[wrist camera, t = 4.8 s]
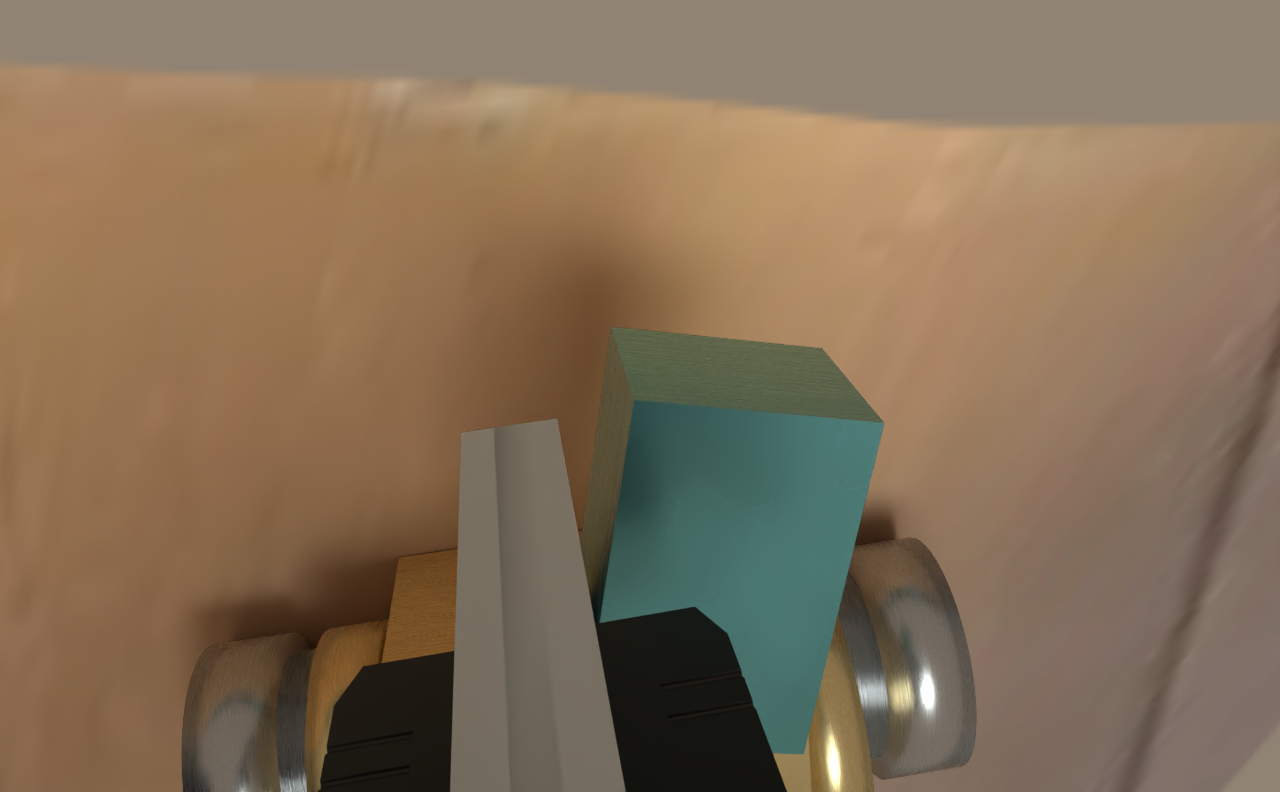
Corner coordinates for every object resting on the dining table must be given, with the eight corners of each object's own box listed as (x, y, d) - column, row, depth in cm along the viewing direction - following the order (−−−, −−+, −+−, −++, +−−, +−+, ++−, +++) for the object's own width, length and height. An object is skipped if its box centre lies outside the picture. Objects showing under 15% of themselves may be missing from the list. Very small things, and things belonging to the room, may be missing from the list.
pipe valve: (280, 795, 26) (196, 1122, 18) (216, 575, 23) (91, 851, 16) (894, 694, 27) (1042, 966, 20) (891, 475, 24) (1056, 690, 17)
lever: (703, 1004, 19) (732, 1154, 16) (490, 1005, 18) (488, 1159, 16) (851, 351, 14) (918, 425, 12) (579, 323, 14) (597, 396, 12)
